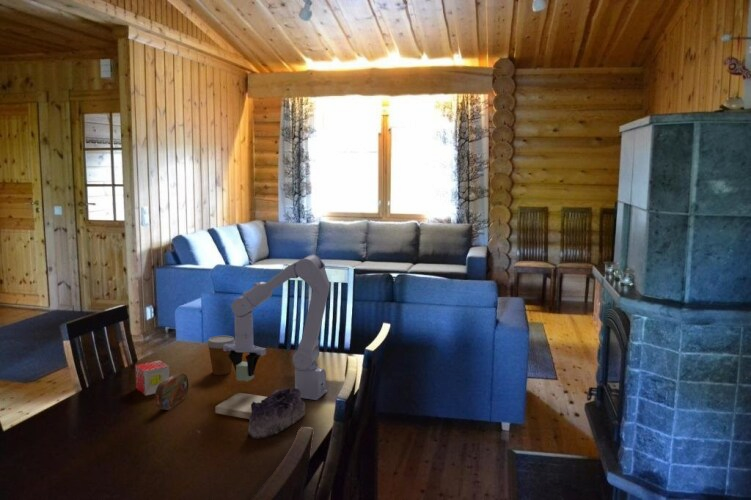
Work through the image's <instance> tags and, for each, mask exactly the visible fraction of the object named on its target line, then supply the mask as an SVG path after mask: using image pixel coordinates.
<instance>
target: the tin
mask: <svg viewBox="0 0 751 500" xmlns="http://www.w3.org/2000/svg"><path fill="white" fill-rule="evenodd" d="M188 391H189V379H188V376H187V375H186V374H185V373H174V374H172V375H170V377H169V378H167V379H166V380H164V381H163V382H161V383H160V384H159V385H158V387H157V389H156V393H154V397H155V403H156V405H155V406H156V407H157V409H159V410H164V411H170V410H172V409H173V408H174V407H176V406H177V405H178V404H180V403H181V402H183V401H184V400H185V398H186V397H187V395H188Z"/></svg>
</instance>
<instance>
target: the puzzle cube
mask: <svg viewBox="0 0 751 500" xmlns="http://www.w3.org/2000/svg"><path fill="white" fill-rule="evenodd" d="M170 374H171V373H170V365H168V364H166V363H164V362H163V361H162V360H155V361H150V362H145V363H139V364H135V386H136V387H135V388H137V390H138V391H139V392H140V391H141V392H142V393H141V392H140V393H141V394H142V395H144V396H149V395H153V394H154V395H155V393H156V389H157V387H158V385H159V384H160V383H161V382H163V381H164V380H166V379H167V378H169V377H170V376H171V375H170Z"/></svg>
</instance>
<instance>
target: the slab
mask: <svg viewBox="0 0 751 500" xmlns="http://www.w3.org/2000/svg"><path fill="white" fill-rule="evenodd" d="M267 397H268V396H263V395H257V394H251V393H250V394H249V393H244V392H236V393H235V394H233V395H232V396H230V397H229V398H226V400H223V401H222V402H220V403H218V404H217V405H216V406H214V407H215V409H214V410H215V413H214V414H219V415H225V416H229V417H230V416H231V417H235V418H241V419H248V420H249V418H250V416H251V415H252V410H251V404H252V403H253V401H254V402H255V403H261V401H262V400H264V399H265V398H267Z"/></svg>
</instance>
